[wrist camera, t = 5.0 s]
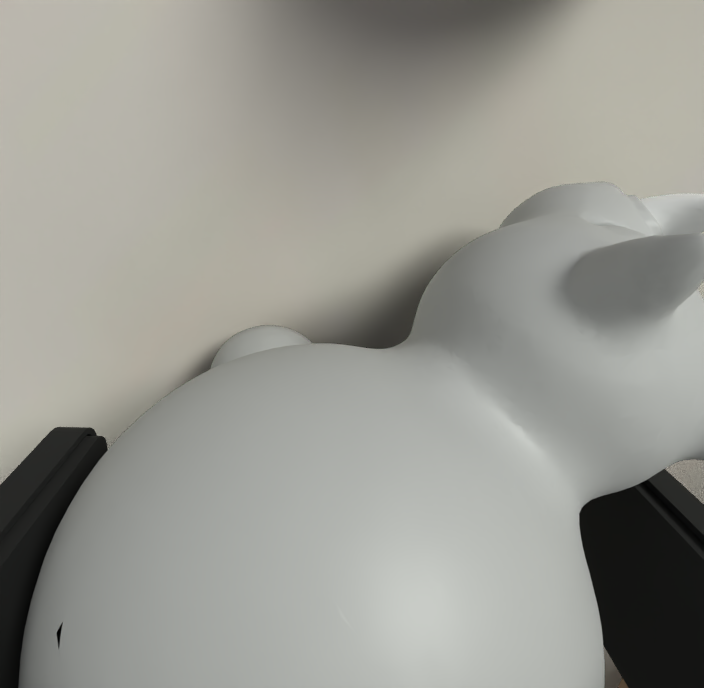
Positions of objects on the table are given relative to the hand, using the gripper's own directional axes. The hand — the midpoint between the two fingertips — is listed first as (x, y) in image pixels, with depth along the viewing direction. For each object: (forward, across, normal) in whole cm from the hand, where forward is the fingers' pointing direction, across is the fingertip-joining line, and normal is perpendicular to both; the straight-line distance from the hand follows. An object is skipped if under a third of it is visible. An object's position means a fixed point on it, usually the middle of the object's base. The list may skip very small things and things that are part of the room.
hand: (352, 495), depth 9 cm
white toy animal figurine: (+4, 0, 0) cm, 4 cm away
